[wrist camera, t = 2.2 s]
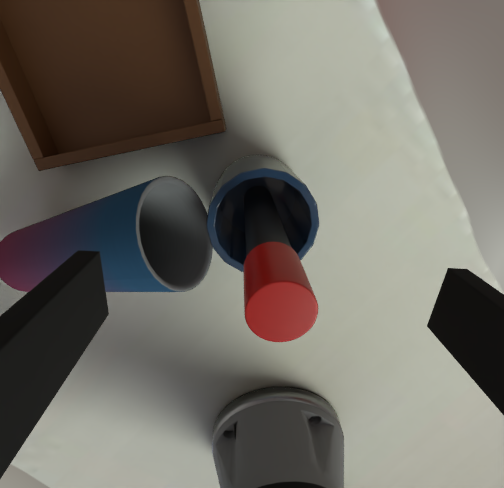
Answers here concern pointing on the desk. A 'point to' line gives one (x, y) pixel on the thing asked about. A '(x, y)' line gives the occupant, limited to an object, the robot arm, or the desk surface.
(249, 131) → the desk surface
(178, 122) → the pen tray
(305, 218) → the pen cup
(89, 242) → the cup
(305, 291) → the marker
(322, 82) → the desk surface
